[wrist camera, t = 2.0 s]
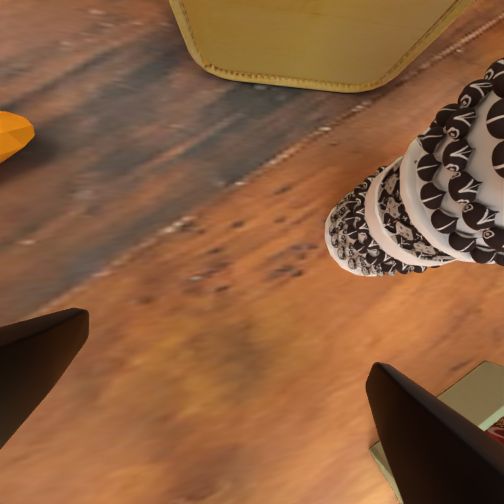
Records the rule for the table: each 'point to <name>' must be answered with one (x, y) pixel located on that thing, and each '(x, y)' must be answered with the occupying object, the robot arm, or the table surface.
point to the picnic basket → (312, 39)
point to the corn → (13, 134)
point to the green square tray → (464, 406)
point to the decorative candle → (432, 194)
